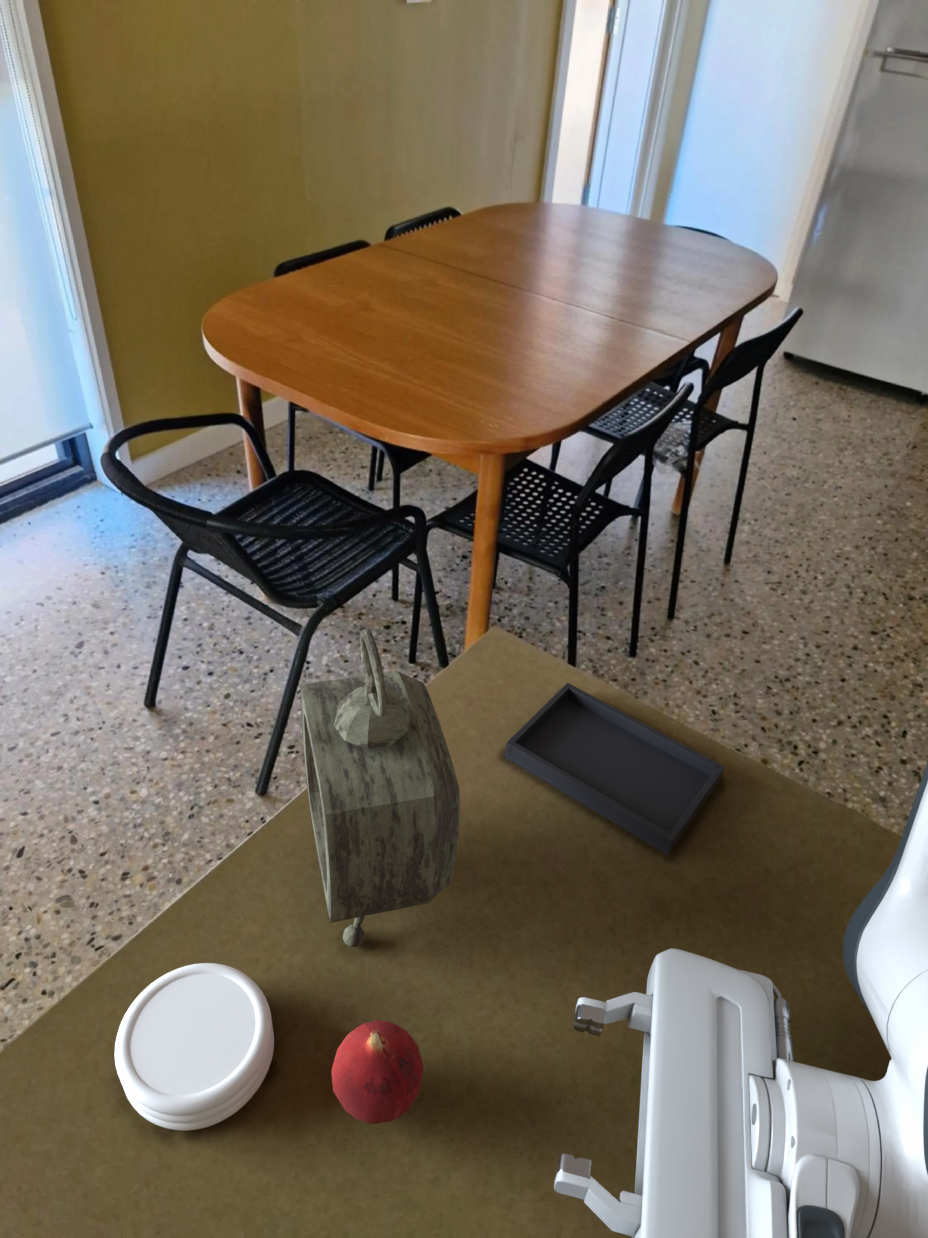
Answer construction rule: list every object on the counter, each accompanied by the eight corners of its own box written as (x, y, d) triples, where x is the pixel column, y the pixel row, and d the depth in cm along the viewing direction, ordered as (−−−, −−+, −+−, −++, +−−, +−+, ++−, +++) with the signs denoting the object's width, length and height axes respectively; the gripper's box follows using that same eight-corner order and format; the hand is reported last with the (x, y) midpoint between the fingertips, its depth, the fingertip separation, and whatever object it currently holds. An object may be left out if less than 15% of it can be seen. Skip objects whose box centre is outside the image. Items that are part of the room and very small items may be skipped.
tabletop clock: (308, 816, 77) (292, 586, 61) (410, 799, 79) (421, 572, 63) (334, 970, 66) (324, 738, 50) (451, 945, 68) (477, 716, 52)
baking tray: (720, 781, 83) (725, 766, 82) (667, 855, 76) (672, 841, 75) (564, 696, 90) (567, 682, 89) (504, 757, 83) (506, 742, 82)
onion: (437, 1082, 60) (443, 1025, 55) (389, 1162, 56) (391, 1108, 51) (366, 1036, 62) (366, 977, 57) (315, 1110, 58) (310, 1054, 53)
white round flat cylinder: (304, 1039, 62) (302, 1014, 60) (195, 1168, 55) (188, 1146, 53) (203, 960, 66) (197, 933, 64) (90, 1071, 59) (79, 1047, 57)
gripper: (802, 958, 58) (592, 910, 60) (837, 1345, 42) (551, 1265, 44) (774, 1005, 62) (578, 959, 64) (796, 1375, 46) (535, 1301, 48)
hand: (566, 1087), depth 54 cm, fingers open, 8 cm apart
